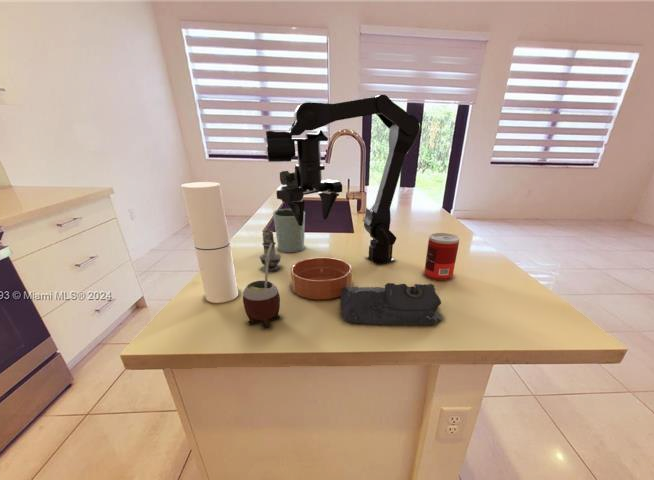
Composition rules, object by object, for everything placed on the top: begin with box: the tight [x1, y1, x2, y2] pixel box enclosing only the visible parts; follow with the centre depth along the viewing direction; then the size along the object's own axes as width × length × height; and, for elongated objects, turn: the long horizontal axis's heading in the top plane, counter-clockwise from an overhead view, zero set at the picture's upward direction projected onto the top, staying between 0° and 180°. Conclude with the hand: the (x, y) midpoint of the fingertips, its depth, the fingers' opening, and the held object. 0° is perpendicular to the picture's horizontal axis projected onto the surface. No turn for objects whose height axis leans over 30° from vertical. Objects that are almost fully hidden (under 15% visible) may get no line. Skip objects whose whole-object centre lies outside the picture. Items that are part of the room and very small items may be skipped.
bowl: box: [289, 257, 353, 300], centre depth 78 cm, size 15×15×5 cm
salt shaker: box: [259, 226, 282, 273], centre depth 86 cm, size 6×6×12 cm
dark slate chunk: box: [339, 282, 443, 327], centre depth 70 cm, size 15×22×5 cm
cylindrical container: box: [180, 181, 239, 304], centre depth 68 cm, size 7×7×25 cm
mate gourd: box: [242, 243, 281, 329], centre depth 62 cm, size 8×8×15 cm
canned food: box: [424, 232, 460, 281], centre depth 85 cm, size 8×8×11 cm
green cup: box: [272, 208, 306, 253], centre depth 102 cm, size 10×10×12 cm
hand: (313, 222), depth 86 cm, fingers open, 9 cm apart
